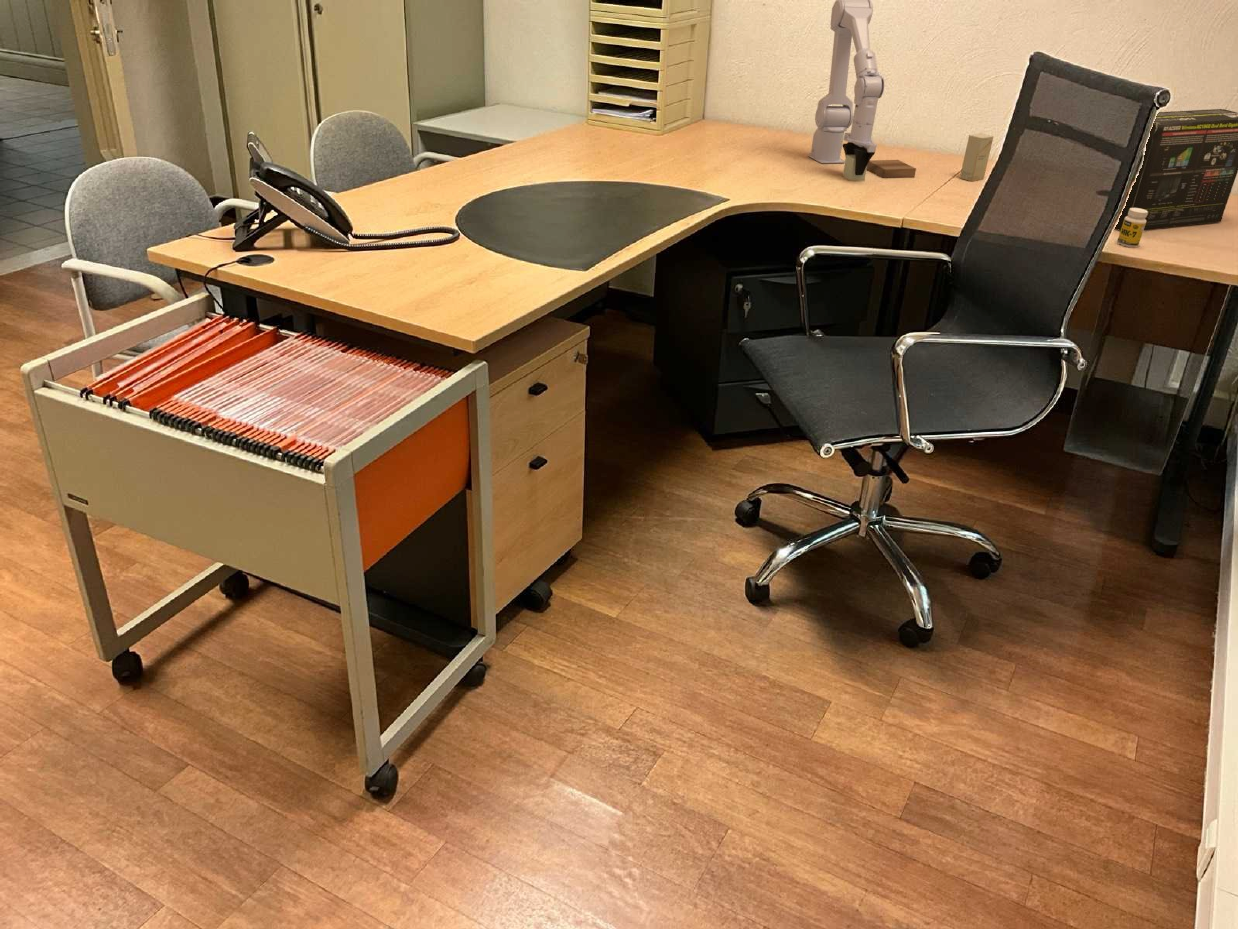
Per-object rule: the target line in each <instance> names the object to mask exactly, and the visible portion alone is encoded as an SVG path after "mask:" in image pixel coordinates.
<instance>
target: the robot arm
mask: <svg viewBox="0 0 1238 929" xmlns="http://www.w3.org/2000/svg"><path fill="white" fill-rule="evenodd" d="M873 12H874V6H873V2H872V0H835V1H834V3H833V6H832V8H831V15H830V30H831V31H832V32H834V35H833V44H832V45H833V46H832V56H831V65H830V67H831V68H830V74H829V75H830V76H829V77H830V78H829V85H828V93H827V94H826V95H824V96H823V97H822V98H821V99H820V100H818V102H817V108H816V111H815V115H814V121H815V125H816V127H817V128H816V129H815V131H814V133H813V136H812V143H811V147H810V149H811V150H810V153H808V154H807V157H809V158H812V159H813V160H814V161H816V162H818V163H821V164H845V160H844V159H842V158H841V154H842V150H843V151H844V155H845V158H846V155H855V158H856V165H855V175H863V173H864V171H865V169H866V166H867V164H868V162H869V161H871V160H872V157H873V156H874V155H875V153H876V149H877V144H876V143H874V141H873V140H872V134H873V130H874V123H875V119H876V114H877V113H876V112H877V108H878V107H877V106H878V101H879V99H881V98H882V96H883V94H884V91H885V79H884V76H883V75H881V72H880V71H878V66H877V64H878V63H877V60H876V59H877V58H876V53H875V51H873V50H871V49H870V48H871V46H870V30H869V25H870V23H871V20H872V17H873ZM852 41H853V44H854V50H855V52H856V54H855V55H854V56H853V66H854V71H855V78H856V81H855V84H854V88H853V94H854V100H853V101H852V99H851V98H850V97H848V96H847V87H848V86H847V85H848V79H849V78H848V76H849V69H850V67H849V66H850V59H851V49H852V48H851V47H852ZM854 104H855V105H854ZM837 105H838V106H837ZM853 105H854V106H853ZM853 107H854V108H853ZM853 110H854V111H853ZM850 127H851V130H850V132H847V130H848V129H849V128H850ZM844 141H845V142H846V143H843V142H844ZM842 148H843V149H842Z"/></svg>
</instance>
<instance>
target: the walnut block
mask: <svg viewBox="0 0 1238 929" xmlns="http://www.w3.org/2000/svg"><path fill="white" fill-rule="evenodd" d="M866 171H868V172H870V173H872V174H874V175H876V176H877V177H880V178H881V179H883V180H884V179H915V178H916V172H917V168H916V167H914V166H911V165H909V164H907V163H905V161H901V160H899V159H885V160H884V159H878V160H875V159H874V160H872V159H870V161H869V162H868V164H867V169H866Z"/></svg>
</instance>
